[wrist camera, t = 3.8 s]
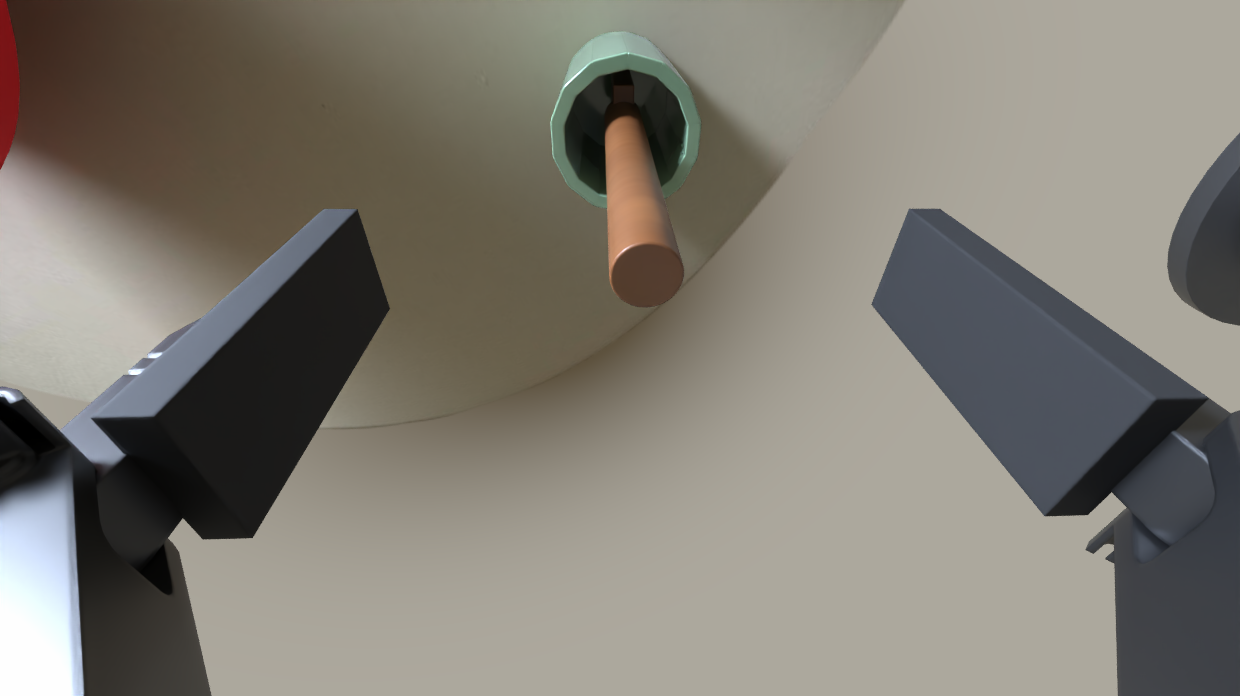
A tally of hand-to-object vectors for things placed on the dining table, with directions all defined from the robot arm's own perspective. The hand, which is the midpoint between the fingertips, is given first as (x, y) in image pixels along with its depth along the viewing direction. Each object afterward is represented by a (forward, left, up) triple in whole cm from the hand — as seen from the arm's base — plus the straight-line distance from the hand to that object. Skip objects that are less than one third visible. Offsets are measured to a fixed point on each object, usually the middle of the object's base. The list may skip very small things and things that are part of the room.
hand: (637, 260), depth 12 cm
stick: (0, 0, -19) cm, 19 cm away
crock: (0, 0, -20) cm, 20 cm away
